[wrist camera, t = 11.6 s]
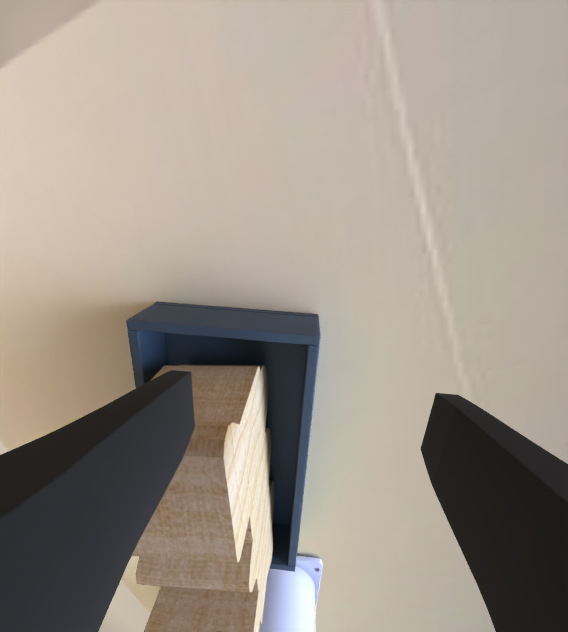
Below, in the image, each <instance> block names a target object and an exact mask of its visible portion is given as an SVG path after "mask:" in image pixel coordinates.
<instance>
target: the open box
mask: <svg viewBox="0 0 568 632" xmlns="http://www.w3.org/2000/svg"><path fill="white" fill-rule="evenodd" d="M126 322H127V329H128V336H129V343H130V350H131V357H132V364H133V371H134V378H135V385H136V388H138V387H140V386H142V385H144V384H145V383H147V382H149V381H150V380H151V379H152V378H153V377H154V376H155V375H156V374H157V373H158V372H159V371H160V370H161V369H162V367H163V366H178V365H265V367H266V371H267V378H268V405H267V417H266V425H265V428H269V429H270V434H271V464H270V474H269V480H273V481H274V512H273V523H272V533H273V552H272V560H271V565H270V569H277V570H285V571H293V572H295V568H296V558H297V549H298V540H299V531H300V521H301V512H302V503H303V494H304V484H305V475H306V466H307V457H308V447H309V438H310V429H311V420H312V410H313V401H314V392H315V383H316V373H317V364H318V355H319V345H320V327H319V316H318V314H306V313H293V312H280V311H268V310H255V309H242V308H229V307H217V306H204V305H191V304H178V303H166V302H156V303H154V304H153V305H151V306H150V307H148V308H146V309H145V310H143V311H141V312H139V313H138V314H136V315H134V316H133V317H131V318H129V319H128V320H127V321H126Z"/></svg>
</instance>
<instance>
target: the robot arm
mask: <svg viewBox="0 0 568 632" xmlns="http://www.w3.org/2000/svg"><path fill="white" fill-rule="evenodd" d="M194 428H195V420H194V405H193V391H192V377H191V372H188V371H176V370H171V371H168V372H166V373H164V374H162V375H160V376H158V377H156V378H155V379H153V380H151V381H149V382H147V383H145V384H144V385H142V386H140V387H138V388H136V389H135V390H133V391H131V392H129V393H127V394H125V395H124V396H122V397H120V398H118V399H116V400H114V401H113V402H111V403H109V404H107V405H105V406H103V407H101V408H99V409H97V410H95V411H94V412H92V413H90V414H88V415H86V416H84V417H82V418H80V419H78V420H76V421H74V422H72V423H70V424H68V425H66V426H64V427H62V428H60V429H58V430H56V431H54V432H51V433H49V434H47V435H45V436H43V437H41V438H38V439H36V440H34V441H32V442H30V443H27V444H25V445H23V446H20V447H18V448H16V449H13V450H11V451H9V452H6V453H4V454H2V455H0V632H98V631H99V628H100V626H101V624H102V621H103V619H104V617H105V614H106V612H107V610H108V608H109V605H110V603H111V601H112V598H113V596H114V594H115V591H116V589H117V587H118V585H119V582H120V580H121V578H122V575H123V573H124V571H125V569H126V566H127V564H128V562H129V560H130V558H131V556H132V554H133V552H134V550H135V548H136V546H137V544H138V542H139V540H140V538H141V536H142V534H143V532H144V530H145V529H146V527H147V525H148V523H149V521H150V519H151V517H152V515H153V514H154V512H155V510H156V508H157V506H158V504H159V502H160V501H161V499H162V497H163V495H164V493H165V491H166V489H167V488H168V486H169V484H170V482H171V480H172V478H173V476H174V474H175V472H176V471H177V469H178V467H179V465H180V463H181V461H182V459H183V457H184V454H185V452H186V449H187V447H188V444H189V441H190V439H191V436H192V433H193V431H194ZM421 451H422V455H423V458H424V461H425V465H426V468H427V471H428V474H429V477H430V480H431V483H432V486H433V488H434V490H435V493H436V495H437V497H438V499H439V502H440V504H441V506H442V508H443V511H444V513H445V515H446V517H447V519H448V522H449V524H450V526H451V528H452V530H453V533H454V535H455V537H456V539H457V541H458V543H459V546H460V548H461V550H462V552H463V554H464V556H465V559H466V561H467V563H468V565H469V567H470V570H471V572H472V574H473V576H474V578H475V580H476V583H477V585H478V587H479V590H480V592H481V595H482V597H483V599H484V602H485V604H486V606H487V609H488V611H489V614H490V617H491V620H492V622H493V625H494V628H495V630H496V632H568V464H567V463H565V462H563V461H562V460H560V459H559V458H557V457H555V456H554V455H552V454H551V453H549V452H547V451H546V450H544V449H543V448H541V447H540V446H538V445H537V444H535V443H533V442H532V441H530V440H529V439H527V438H526V437H524V436H523V435H521V434H520V433H518V432H516V431H515V430H513V429H512V428H510V427H509V426H507V425H506V424H504V423H503V422H501V421H500V420H498V419H497V418H495V417H494V416H492V415H490V414H489V413H487V412H486V411H484V410H483V409H481V408H479V407H478V406H476V405H475V404H473V403H471V402H470V401H468V400H466V399H465V398H463V397H461V396H459V395H452V394H441V393H436V395H435V399H434V402H433V406H432V410H431V413H430V417H429V421H428V424H427V428H426V432H425V435H424V439H423V443H422V446H421ZM322 567H323V565H322V560H321V559H319V558H313V557H305V556H297V558H296V568H295V572H293V571H285V570H277V569H270V568H269V572H268V575H267V583H266V592H265V601H264V609H263V618H262V625H260V627H259V632H315V611H316V605H317V598H318V592H319V586H320V579H321V573H322Z"/></svg>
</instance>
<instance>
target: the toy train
mask: <svg viewBox="0 0 568 632" xmlns="http://www.w3.org/2000/svg"><path fill="white" fill-rule="evenodd" d="M171 370H176V371H188V372H191V377H192V391H193V405H194V420H195V428H194V431H193V433H192V436H191V439H190V441H189V444H188V447H187V449H186V452H185V454H184V457H183V459H182V461H181V463H180V465H179V467H178V469H177V471H176V472H175V474H174V476H173V478H172V480H171V482H170V484H169V486H168V488H167V489H166V491H165V493H164V495H163V497H162V499H161V501H160V502H159V504H158V506H157V508H156V510H155V512H154V514H153V515H152V517H151V519H150V521H149V523H148V525H147V527H146V529H145V530H144V532H143V534H142V536H141V538H140V540H139V542H138V544H137V546H136V548H135V550H134V552H133V554H132V556H140V557H139V561H138V566H137V571H136V582H137V584H142V585H154V586H161V588H160V591H159V593H158V596H157V598H156V601H155V604H154V606H153V609H152V612H151V614H150V617H149V620H148V622H147V625H146V628H145V630H144V632H259V627H260V625H262V618H263V609H264V601H265V592H266V583H267V575H268V572H269V568H270V565H271V560H272V552H273V533H272V523H273V512H274V481H273V480H269V474H270V464H271V434H270V429H269V428H265V425H266V417H267V405H268V378H267V371H266V367H265V365H178V366H163V367H162V369H161V370H160V371H159V372H158V373H157V374H156V375H155V376H154V377H153V378H152V379H151V380H153V379H155V378H156V377H158V376H160V375H162V374H164V373H166V372H168V371H171ZM151 380H150V381H151Z"/></svg>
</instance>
